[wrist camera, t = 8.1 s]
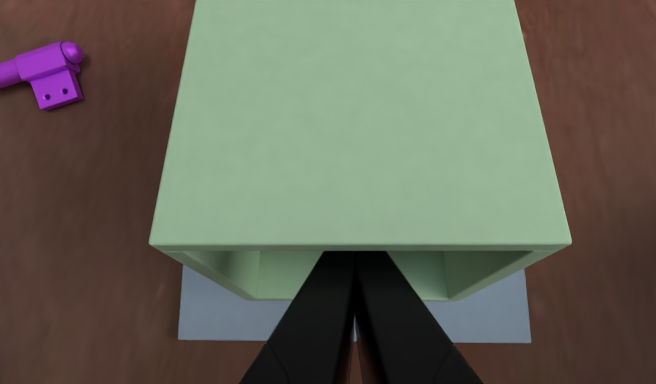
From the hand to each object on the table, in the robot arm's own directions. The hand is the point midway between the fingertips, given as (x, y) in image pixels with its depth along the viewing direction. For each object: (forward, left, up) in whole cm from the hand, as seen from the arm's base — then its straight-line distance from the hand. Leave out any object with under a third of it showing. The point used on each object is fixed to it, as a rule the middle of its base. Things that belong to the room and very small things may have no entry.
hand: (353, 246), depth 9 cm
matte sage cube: (+2, -2, -6) cm, 7 cm away
